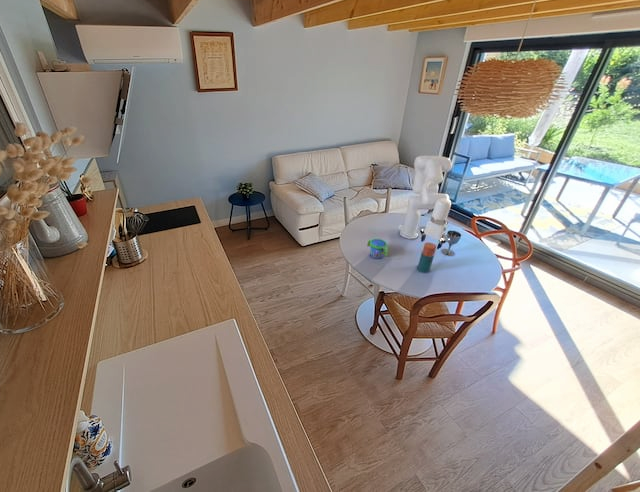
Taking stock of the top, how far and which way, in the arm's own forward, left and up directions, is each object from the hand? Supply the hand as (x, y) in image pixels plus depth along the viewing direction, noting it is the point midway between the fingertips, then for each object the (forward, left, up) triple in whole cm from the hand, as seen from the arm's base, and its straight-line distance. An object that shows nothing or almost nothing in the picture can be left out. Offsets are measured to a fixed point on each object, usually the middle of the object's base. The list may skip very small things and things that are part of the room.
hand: (430, 244), depth 169 cm
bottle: (0, 0, -18) cm, 18 cm away
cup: (0, 0, -6) cm, 6 cm away
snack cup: (-27, -11, -18) cm, 34 cm away
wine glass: (+1, +30, -18) cm, 35 cm away
